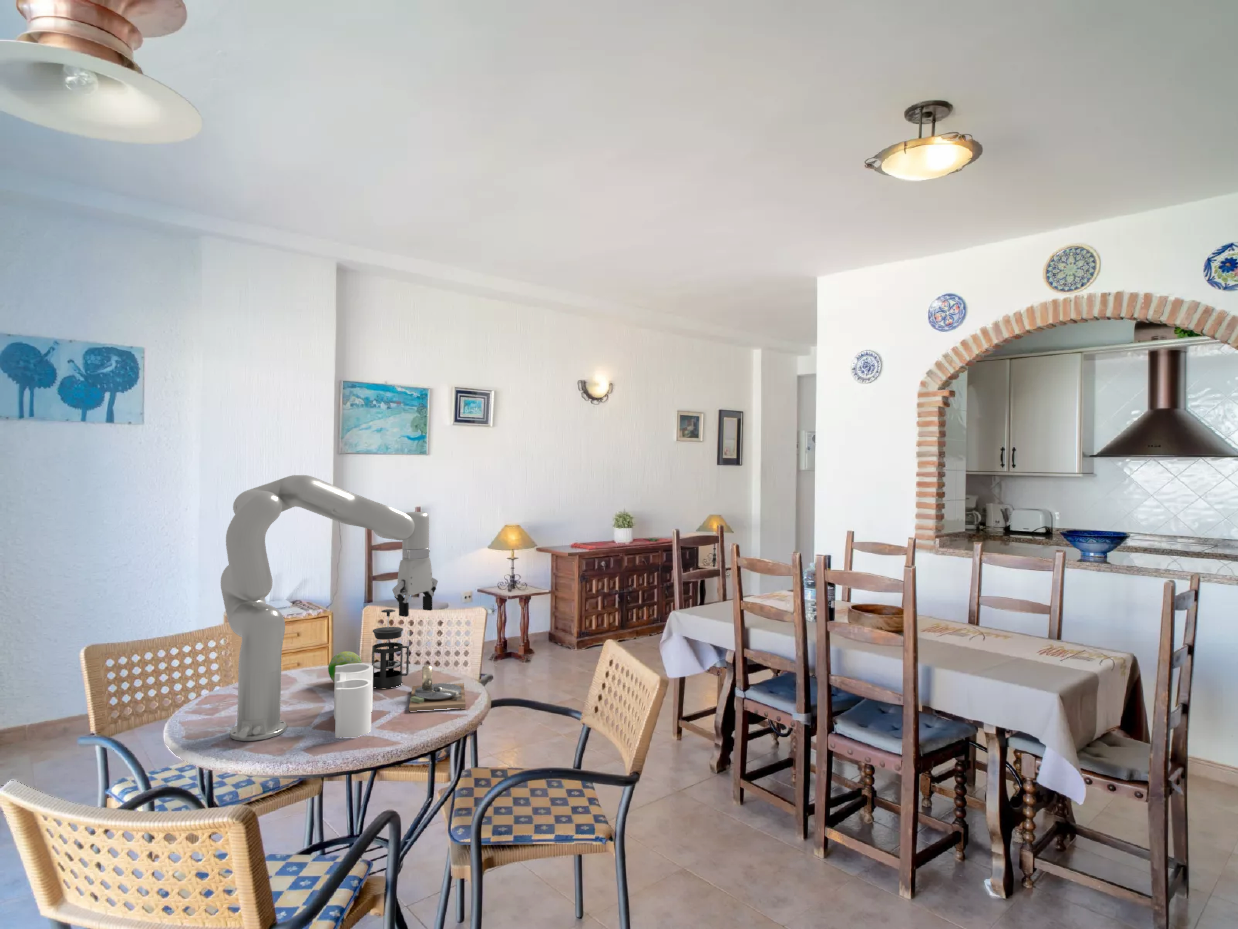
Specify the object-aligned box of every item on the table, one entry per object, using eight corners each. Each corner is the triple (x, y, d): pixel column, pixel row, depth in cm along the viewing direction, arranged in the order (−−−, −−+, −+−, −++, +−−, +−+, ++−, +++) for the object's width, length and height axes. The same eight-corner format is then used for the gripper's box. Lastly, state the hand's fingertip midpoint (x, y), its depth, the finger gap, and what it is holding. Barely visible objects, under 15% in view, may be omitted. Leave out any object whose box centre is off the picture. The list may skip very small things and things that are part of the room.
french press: (364, 689, 211) (365, 612, 212) (373, 680, 221) (375, 606, 221) (403, 689, 212) (405, 612, 212) (411, 680, 221) (413, 607, 222)
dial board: (465, 709, 195) (465, 700, 195) (409, 712, 191) (409, 703, 191) (463, 688, 214) (464, 679, 214) (412, 690, 210) (412, 682, 210)
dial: (473, 692, 204) (473, 667, 204) (440, 704, 193) (440, 678, 193) (438, 684, 211) (438, 660, 212) (404, 695, 200) (405, 670, 200)
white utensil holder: (374, 736, 174) (375, 686, 174) (331, 740, 170) (332, 690, 171) (372, 705, 197) (372, 661, 198) (334, 708, 194) (335, 664, 194)
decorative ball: (367, 680, 221) (367, 648, 221) (353, 689, 211) (354, 656, 211) (336, 679, 221) (337, 647, 222) (321, 688, 211) (322, 655, 212)
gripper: (426, 550, 215) (426, 606, 214) (384, 557, 199) (384, 617, 199) (445, 551, 211) (445, 608, 211) (403, 558, 196) (404, 620, 196)
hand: (415, 613), depth 205 cm, fingers open, 9 cm apart
